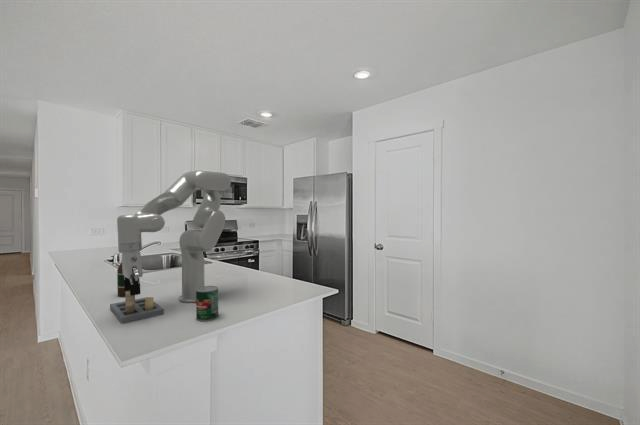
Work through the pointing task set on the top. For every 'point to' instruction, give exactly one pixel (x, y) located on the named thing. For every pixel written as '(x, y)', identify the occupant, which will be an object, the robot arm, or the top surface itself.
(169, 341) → the top surface
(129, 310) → the beech pin
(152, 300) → the peg board
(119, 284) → the beer bottle
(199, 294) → the canned tomato
